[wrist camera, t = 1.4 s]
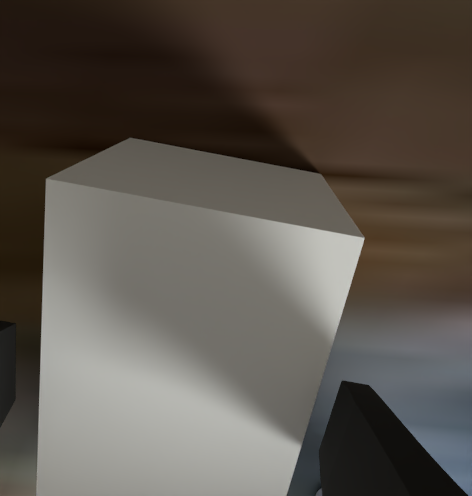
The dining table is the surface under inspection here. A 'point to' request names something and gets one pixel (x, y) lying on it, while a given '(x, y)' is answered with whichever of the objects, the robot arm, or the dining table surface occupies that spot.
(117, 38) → the dining table surface
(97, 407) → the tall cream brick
